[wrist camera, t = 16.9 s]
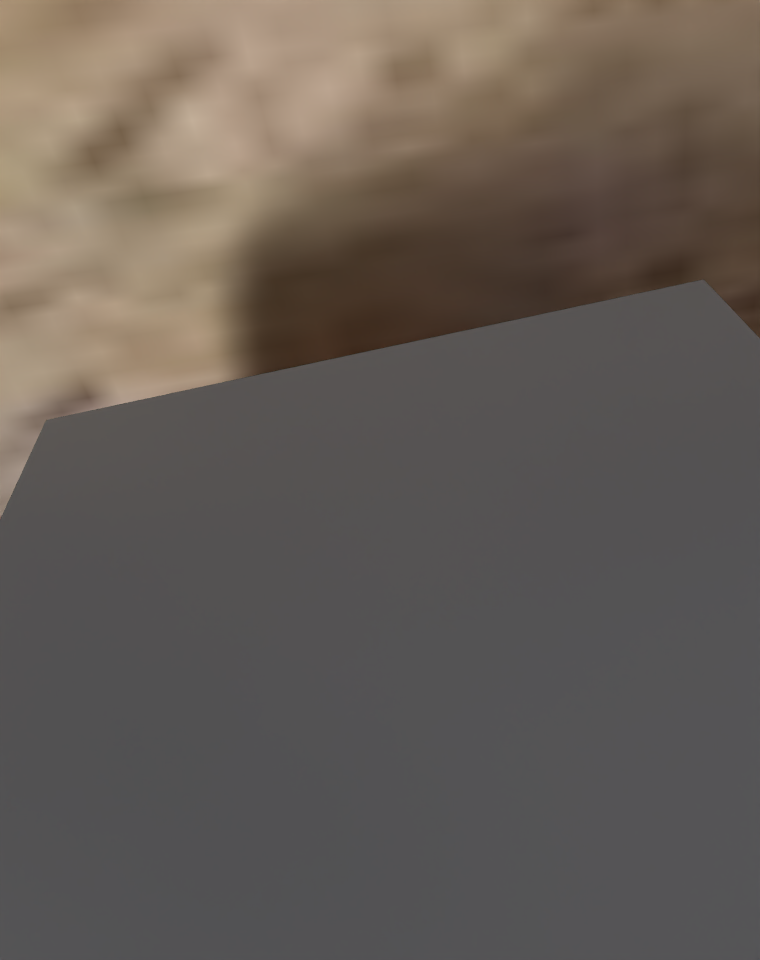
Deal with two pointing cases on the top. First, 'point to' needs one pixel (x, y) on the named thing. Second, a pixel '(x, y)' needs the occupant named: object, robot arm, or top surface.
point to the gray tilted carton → (397, 655)
